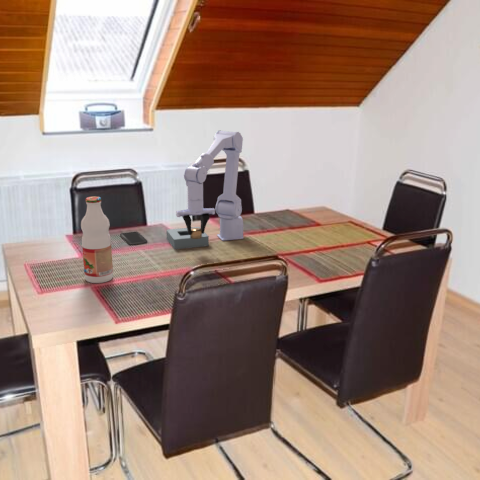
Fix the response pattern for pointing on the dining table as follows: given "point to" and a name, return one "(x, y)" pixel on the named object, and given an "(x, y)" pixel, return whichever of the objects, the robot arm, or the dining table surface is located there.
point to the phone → (133, 238)
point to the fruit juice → (96, 243)
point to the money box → (185, 239)
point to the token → (196, 233)
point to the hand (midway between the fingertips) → (196, 233)
